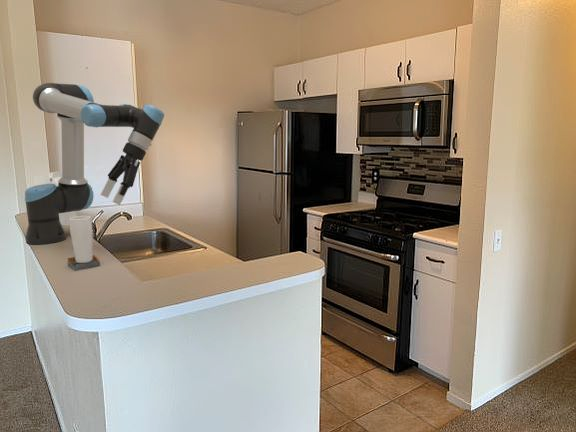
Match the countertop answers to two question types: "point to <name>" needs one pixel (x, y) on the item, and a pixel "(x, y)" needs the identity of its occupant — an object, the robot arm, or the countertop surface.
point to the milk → (62, 216)
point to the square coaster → (78, 266)
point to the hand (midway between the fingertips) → (109, 199)
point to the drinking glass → (81, 238)
